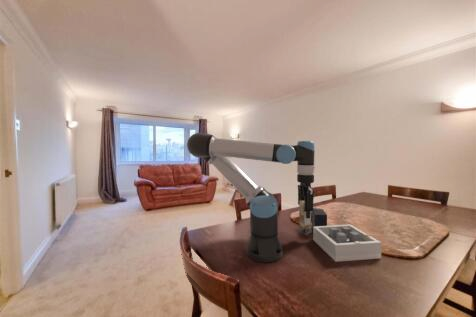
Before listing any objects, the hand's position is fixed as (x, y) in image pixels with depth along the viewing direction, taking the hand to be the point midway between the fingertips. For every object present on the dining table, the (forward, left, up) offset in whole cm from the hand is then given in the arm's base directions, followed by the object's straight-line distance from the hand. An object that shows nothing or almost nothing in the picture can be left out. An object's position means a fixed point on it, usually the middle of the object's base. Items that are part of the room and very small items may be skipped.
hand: (304, 222), depth 95 cm
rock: (+15, +29, -9) cm, 34 cm away
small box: (+12, +11, -9) cm, 19 cm away
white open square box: (+14, -9, -9) cm, 19 cm away
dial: (+14, -9, -7) cm, 18 cm away
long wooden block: (0, 0, -5) cm, 5 cm away
